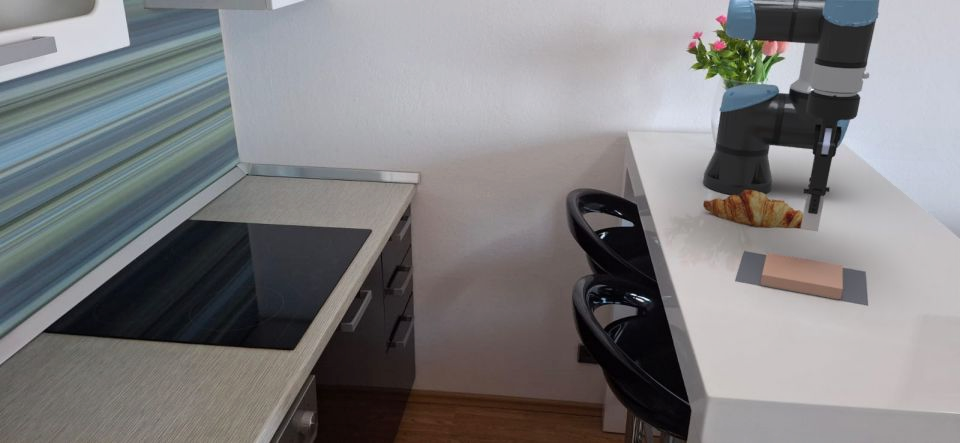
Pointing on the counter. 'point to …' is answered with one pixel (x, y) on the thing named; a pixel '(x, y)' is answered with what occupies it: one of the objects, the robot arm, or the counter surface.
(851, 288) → the mat
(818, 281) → the block
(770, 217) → the croissant
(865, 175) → the counter surface
